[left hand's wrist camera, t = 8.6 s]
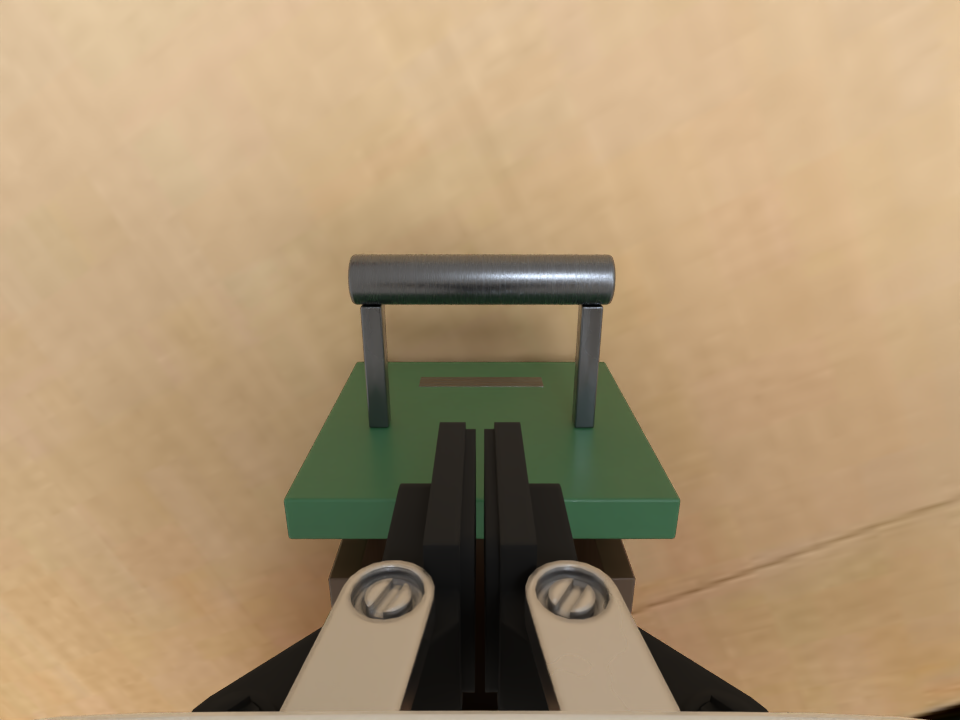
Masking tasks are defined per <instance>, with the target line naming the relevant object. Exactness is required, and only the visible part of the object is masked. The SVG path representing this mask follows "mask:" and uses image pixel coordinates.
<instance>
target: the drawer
mask: <svg viewBox="0 0 960 720" xmlns="http://www.w3.org/2000/svg"><path fill="white" fill-rule="evenodd" d="M348 284H349V292H350V297H351V299H352V302H353V303H354V304H357V305H362V306H361V308H360V309H361V323H362V336H363V350H364V362H357V363H356V365H355V367H354V369H353V371H352V373H351V375H350V377H349V378H348V380H347V382H346V384H345V386H344V388H343V390H342V392H341V393H340V395H339V397H338V399H337V401H336V403H335V405H334V407H333V409H332V410H331V412H330V414H329V416H328V418H327V420H326V422H325V424H324V425H323V427H322V429H321V431H320V433H319V435H318V437H317V439H316V440H315V442H314V444H313V446H312V448H311V450H310V452H309V454H308V456H307V457H306V459H305V461H304V463H303V465H302V467H301V469H300V471H299V472H298V474H297V476H296V478H295V480H294V482H293V484H292V486H291V488H290V489H289V491H288V493H287V495H286V497H285V499H284V506H285V513H286V520H287V528H288V535H289V538H291V539H342V540H341V543H340V546H339V549H338V552H337V555H336V558H335V561H334V564H333V567H332V570H331V573H330V576H329V588H330V597H331V606H332V607H333V605H334V603H335V602H336V600H337V598H338V596H339V594H340V592H341V590H342V588H343V586H344V585H345V583H346V582H347V581H348V579H349V578H350V577H351V576H352V575H354V574H355V573H356V572H357V571H359V570H360V569H362V568H364V567H366V566H369V565H371V564H373V563H378V562H382V559H383V554H384V550H385V546H386V541H387V537H388V533H389V528H390V524H391V519H392V515H393V511H394V506H395V502H396V497H397V493H398V489H399V486H400V484H401V483H431V481H432V474H433V467H434V460H435V452H436V445H437V438H438V431H439V424H440V422H466V429H476V622H475V692H463V694H462V711H498V694H497V692H485V622H484V429H494V422H520V424H521V431H522V438H523V445H524V452H525V460H526V467H527V474H528V481H529V483H559V484H560V486H561V489H562V493H563V497H564V502H565V506H566V511H567V515H568V519H569V524H570V528H571V533H572V537H573V541H574V546H575V550H576V554H577V559H578V562H582V563H587V564H589V565H591V566H594V567H596V568H598V569H600V570H601V571H603V572H604V573H605V574H606V575H608V576H609V577H610V578H611V579H612V581H613V582H614V583H615V585H616V586H617V588H618V590H619V592H620V594H621V596H622V598H623V600H624V602H625V604H626V605H627V607H628V609H629V611H630V613H631V611H632V603H633V594H634V586H635V576H634V574H633V571H632V568H631V565H630V562H629V559H628V557H627V554H626V551H625V548H624V545H623V542H622V539H673V538H675V534H676V527H677V520H678V513H679V506H680V499H679V497H678V495H677V493H676V491H675V489H674V488H673V486H672V484H671V482H670V480H669V478H668V477H667V475H666V473H665V471H664V469H663V468H662V466H661V464H660V462H659V460H658V458H657V457H656V455H655V453H654V451H653V449H652V448H651V446H650V444H649V442H648V440H647V438H646V437H645V435H644V433H643V431H642V429H641V428H640V426H639V424H638V422H637V420H636V418H635V417H634V415H633V413H632V411H631V409H630V408H629V406H628V404H627V402H626V400H625V398H624V397H623V395H622V393H621V391H620V389H619V387H618V386H617V384H616V382H615V380H614V378H613V377H612V375H611V373H610V371H609V369H608V367H607V366H606V364H605V363H604V362H599V355H600V342H601V329H602V316H603V306H602V305H607V304H610V303H611V301H612V298H613V295H614V290H615V265H614V261H613V258H612V256H610V255H353V256H352V257H351V260H350V263H349V270H348ZM384 305H579V312H578V328H577V344H576V360H575V362H388V358H387V341H386V324H385V306H384Z"/></svg>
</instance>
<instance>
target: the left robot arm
mask: <svg viewBox="0 0 960 720" xmlns="http://www.w3.org/2000/svg"><path fill="white" fill-rule="evenodd" d="M475 622H476V429H466V422H440V424H439V431H438V438H437V445H436V452H435V460H434V467H433V474H432V481H431V483H401V484H400V486H399V489H398V493H397V497H396V502H395V506H394V511H393V515H392V519H391V524H390V528H389V533H388V537H387V541H386V546H385V550H384V554H383V559H382V562H378V563H373V564H371V565H369V566H366V567H364V568H362V569H360V570H359V571H357V572H356V573H355V574H354V575H352V576H351V577H350V578H349V579H348V581H347V582H346V583H345V585H344V586H343V588H342V590H341V592H340V594H339V596H338V598H337V600H336V602H335V603H334V605H333V607H332V609H331V611H330V613H329V615H328V617H327V619H326V621H325V623H324V625H323V627H321V628H320V629H318V630H316V631H315V632H313V633H312V634H310V635H308V636H307V637H305V638H304V639H302V640H300V641H299V642H297V643H296V644H294V645H292V646H291V647H289V648H288V649H286V650H284V651H283V652H281V653H280V654H278V655H276V656H275V657H273V658H271V659H270V660H268V661H267V662H265V663H263V664H262V665H260V666H259V667H257V668H255V669H254V670H252V671H251V672H249V673H247V674H246V675H244V676H243V677H241V678H239V679H238V680H236V681H235V682H233V683H231V684H230V685H228V686H227V687H225V688H223V689H222V690H220V691H218V692H217V693H215V694H214V695H212V696H210V697H209V698H208V699H206V700H205V701H204V702H202V703H201V704H200V705H199V706H197V707H196V708H195V709H194V710H193V711H192V712H160V713H130V714H107V715H84V716H62V717H53V718H45V719H36V720H924V719H915V718H907V717H898V716H875V715H852V714H830V713H789V712H787V713H777V712H768V711H767V710H766V709H765V708H764V707H763V706H761V705H760V704H759V703H758V702H756V701H755V700H754V699H752V698H751V697H750V696H748V695H746V694H745V693H743V692H742V691H740V690H738V689H737V688H735V687H733V686H732V685H730V684H729V683H727V682H725V681H724V680H722V679H721V678H719V677H717V676H716V675H714V674H713V673H711V672H709V671H708V670H706V669H705V668H703V667H701V666H700V665H698V664H697V663H695V662H693V661H692V660H690V659H689V658H687V657H685V656H684V655H682V654H680V653H679V652H677V651H676V650H674V649H672V648H671V647H669V646H668V645H666V644H664V643H663V642H661V641H660V640H658V639H656V638H655V637H653V636H652V635H650V634H648V633H647V632H645V631H644V630H642V629H640V628H639V627H637V625H636V623H635V621H634V619H633V617H632V615H631V613H630V611H629V609H628V607H627V605H626V604H625V602H624V600H623V598H622V596H621V594H620V592H619V590H618V588H617V586H616V585H615V583H614V582H613V581H612V579H611V578H610V577H609V576H608V575H606V574H605V573H604V572H603V571H601V570H600V569H598V568H596V567H594V566H591V565H589V564H587V563H582V562H578V559H577V554H576V550H575V546H574V541H573V537H572V533H571V528H570V524H569V519H568V515H567V511H566V506H565V502H564V497H563V493H562V489H561V486H560V484H559V483H529V481H528V474H527V467H526V460H525V452H524V445H523V438H522V431H521V424H520V422H494V429H484V622H485V692H497V694H498V711H462V694H463V692H475Z"/></svg>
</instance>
